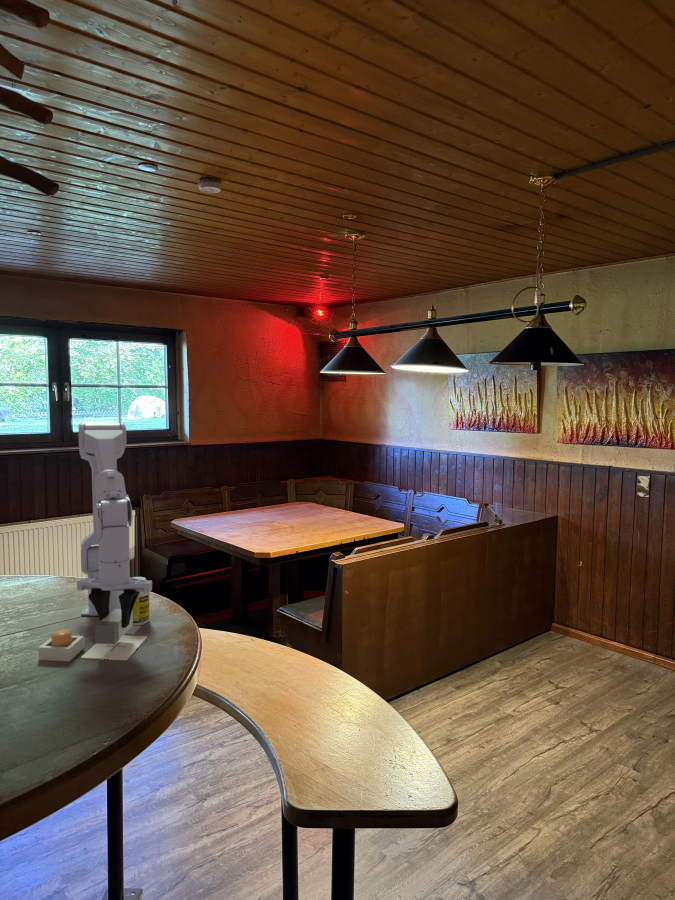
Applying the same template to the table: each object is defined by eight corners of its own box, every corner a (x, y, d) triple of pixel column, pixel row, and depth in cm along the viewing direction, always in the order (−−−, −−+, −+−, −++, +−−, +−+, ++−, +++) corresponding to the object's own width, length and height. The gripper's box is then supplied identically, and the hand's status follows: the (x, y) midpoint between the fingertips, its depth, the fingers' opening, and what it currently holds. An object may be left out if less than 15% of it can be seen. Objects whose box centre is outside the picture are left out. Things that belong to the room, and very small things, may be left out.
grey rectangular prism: (115, 625, 126) (115, 608, 125) (132, 626, 125) (132, 608, 125) (95, 643, 117) (95, 624, 116) (114, 644, 116) (114, 625, 116)
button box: (55, 646, 121) (54, 634, 121) (84, 648, 121) (84, 636, 121) (38, 660, 115) (38, 647, 115) (69, 661, 115) (69, 648, 115)
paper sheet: (105, 635, 127) (105, 634, 127) (147, 637, 127) (147, 636, 127) (80, 658, 116) (80, 657, 116) (126, 660, 116) (126, 659, 116)
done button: (57, 643, 120) (57, 629, 119) (75, 644, 120) (75, 630, 119) (48, 651, 116) (47, 636, 116) (66, 652, 116) (65, 637, 116)
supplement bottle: (141, 627, 132) (141, 584, 131) (119, 625, 133) (118, 581, 132) (154, 618, 137) (153, 576, 136) (132, 616, 138) (131, 574, 137)
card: (113, 626, 132) (113, 624, 132) (140, 627, 132) (140, 625, 132) (105, 633, 128) (105, 631, 128) (133, 634, 128) (133, 633, 128)
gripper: (68, 563, 116) (70, 631, 117) (142, 566, 115) (143, 634, 117) (85, 553, 123) (87, 618, 124) (155, 556, 122) (156, 621, 124)
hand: (115, 625), depth 121 cm, fingers closed on grey rectangular prism, 4 cm apart
